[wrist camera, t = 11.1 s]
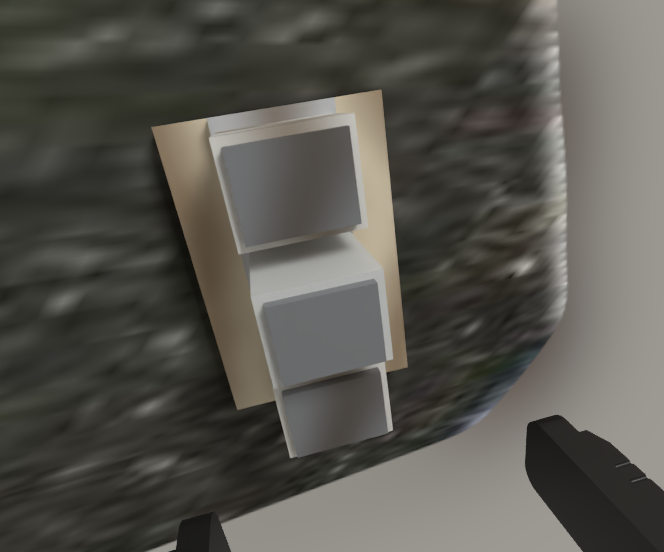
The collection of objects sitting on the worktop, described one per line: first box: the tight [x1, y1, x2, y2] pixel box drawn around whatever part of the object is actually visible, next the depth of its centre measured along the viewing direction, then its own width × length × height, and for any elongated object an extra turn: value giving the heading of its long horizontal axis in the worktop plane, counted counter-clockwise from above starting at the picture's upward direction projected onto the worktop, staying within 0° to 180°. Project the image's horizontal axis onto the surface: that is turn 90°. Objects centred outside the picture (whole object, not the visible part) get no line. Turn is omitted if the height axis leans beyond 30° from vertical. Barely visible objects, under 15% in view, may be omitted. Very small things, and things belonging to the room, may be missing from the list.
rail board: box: [152, 90, 408, 458], centre depth 23 cm, size 12×18×8 cm, turn 9°
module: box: [249, 232, 393, 389], centre depth 21 cm, size 6×4×8 cm
